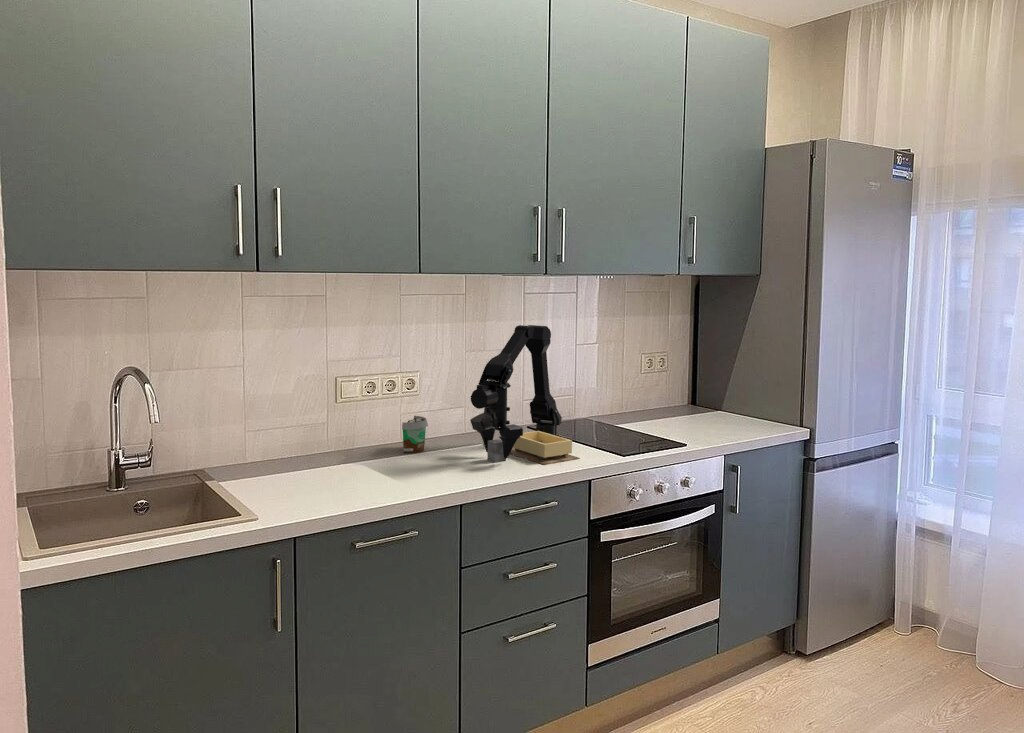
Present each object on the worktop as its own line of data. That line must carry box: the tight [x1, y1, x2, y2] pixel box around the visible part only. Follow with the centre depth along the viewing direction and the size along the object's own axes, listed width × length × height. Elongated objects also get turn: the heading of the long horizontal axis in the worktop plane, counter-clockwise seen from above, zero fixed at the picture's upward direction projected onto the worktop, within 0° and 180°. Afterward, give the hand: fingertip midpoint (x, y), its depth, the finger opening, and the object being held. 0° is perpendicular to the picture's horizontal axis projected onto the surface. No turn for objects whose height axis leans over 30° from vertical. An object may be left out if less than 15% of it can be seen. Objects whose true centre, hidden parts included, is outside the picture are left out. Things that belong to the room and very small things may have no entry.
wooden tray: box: [513, 430, 573, 460], centre depth 259 cm, size 11×17×5 cm, turn 36°
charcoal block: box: [487, 438, 507, 464], centre depth 252 cm, size 4×4×6 cm
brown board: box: [482, 443, 581, 466], centre depth 264 cm, size 14×32×1 cm, turn 36°
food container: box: [401, 415, 429, 455], centre depth 263 cm, size 12×6×10 cm, turn 168°
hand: (496, 454), depth 252 cm, fingers open, 9 cm apart
